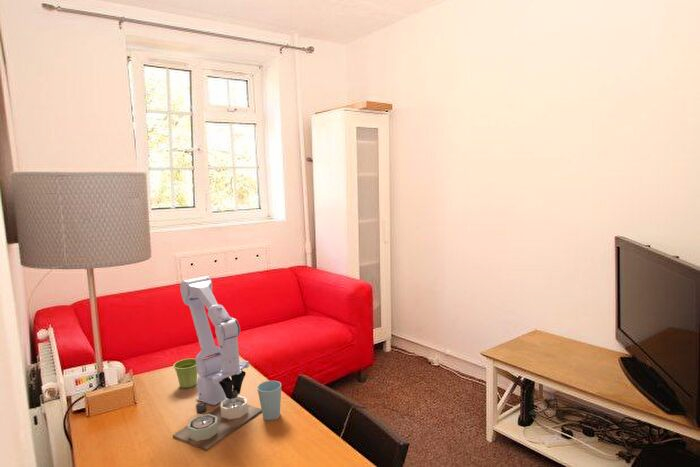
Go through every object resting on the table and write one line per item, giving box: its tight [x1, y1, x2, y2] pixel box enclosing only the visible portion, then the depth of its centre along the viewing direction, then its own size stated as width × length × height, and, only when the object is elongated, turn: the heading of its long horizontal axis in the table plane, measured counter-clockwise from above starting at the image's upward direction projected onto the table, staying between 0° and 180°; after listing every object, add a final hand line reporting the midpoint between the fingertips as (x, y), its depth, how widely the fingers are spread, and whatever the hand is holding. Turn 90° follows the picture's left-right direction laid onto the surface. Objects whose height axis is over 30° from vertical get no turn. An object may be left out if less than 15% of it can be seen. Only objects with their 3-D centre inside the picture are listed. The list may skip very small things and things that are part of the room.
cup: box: [257, 380, 282, 421], centre depth 144 cm, size 8×8×10 cm
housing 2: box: [220, 395, 248, 419], centre depth 146 cm, size 8×8×3 cm
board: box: [172, 404, 262, 452], centre depth 141 cm, size 15×24×1 cm, turn 149°
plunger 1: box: [193, 401, 213, 429], centre depth 135 cm, size 6×6×6 cm
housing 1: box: [187, 413, 218, 441], centre depth 135 cm, size 8×8×3 cm
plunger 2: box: [225, 387, 243, 408], centre depth 146 cm, size 6×6×6 cm
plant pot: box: [172, 358, 198, 389], centre depth 169 cm, size 9×9×9 cm
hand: (233, 395), depth 146 cm, fingers closed on plunger 2, 3 cm apart
